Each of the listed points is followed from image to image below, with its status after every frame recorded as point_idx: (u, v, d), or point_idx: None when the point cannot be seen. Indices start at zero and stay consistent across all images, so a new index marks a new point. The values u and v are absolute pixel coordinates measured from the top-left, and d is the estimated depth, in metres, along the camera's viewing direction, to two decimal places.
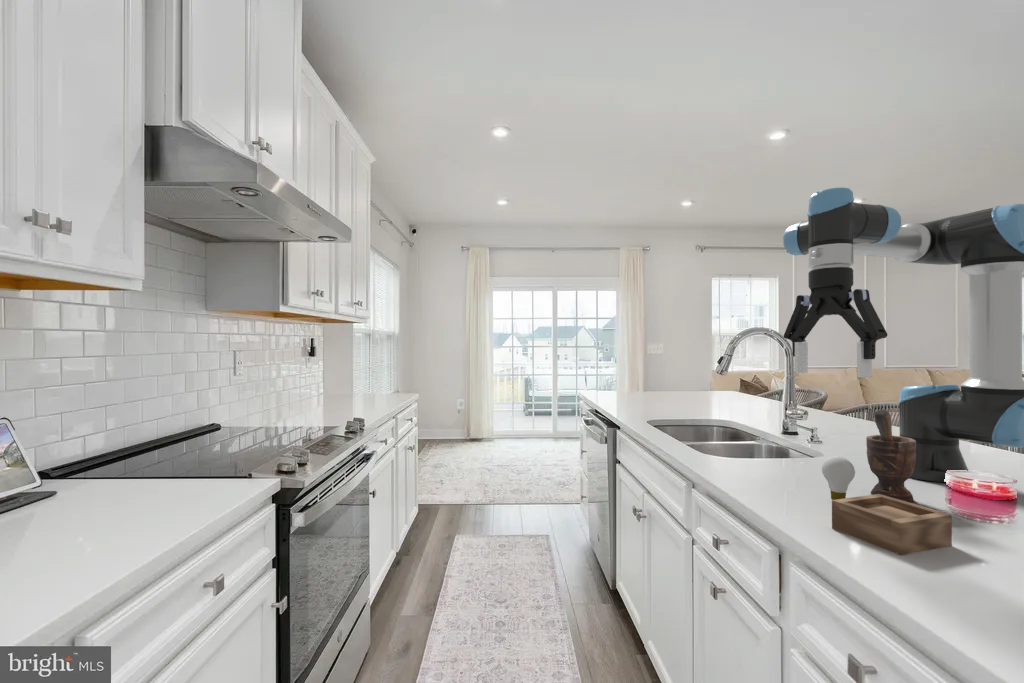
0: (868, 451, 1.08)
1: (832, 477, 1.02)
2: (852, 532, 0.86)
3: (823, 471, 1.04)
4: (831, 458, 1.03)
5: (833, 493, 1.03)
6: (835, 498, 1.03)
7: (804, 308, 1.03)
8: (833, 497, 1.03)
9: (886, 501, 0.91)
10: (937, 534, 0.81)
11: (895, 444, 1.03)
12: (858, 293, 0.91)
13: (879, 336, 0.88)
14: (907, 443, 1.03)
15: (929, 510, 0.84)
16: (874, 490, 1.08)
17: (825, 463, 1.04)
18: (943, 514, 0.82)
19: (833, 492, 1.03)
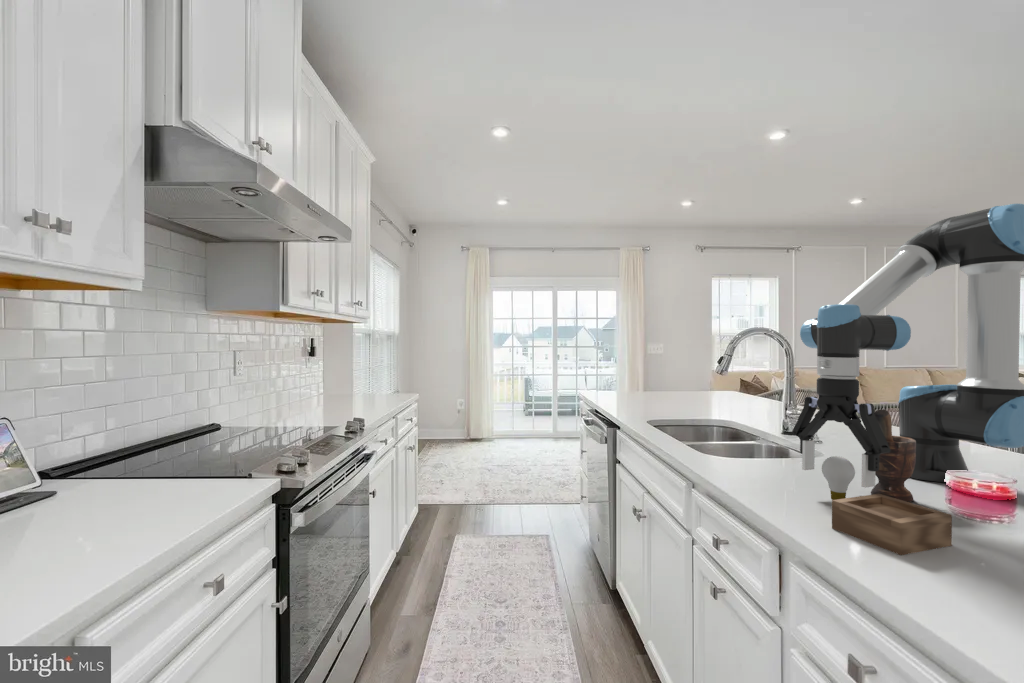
0: None
1: (832, 477, 1.02)
2: (852, 532, 0.86)
3: (823, 471, 1.04)
4: (831, 458, 1.03)
5: (833, 493, 1.03)
6: (835, 498, 1.03)
7: (812, 409, 1.10)
8: (833, 497, 1.03)
9: (886, 501, 0.91)
10: (937, 534, 0.81)
11: (895, 444, 1.03)
12: (863, 408, 0.97)
13: (883, 452, 0.94)
14: (907, 443, 1.03)
15: (929, 510, 0.84)
16: (874, 490, 1.08)
17: (825, 463, 1.04)
18: (943, 514, 0.82)
19: (833, 492, 1.03)
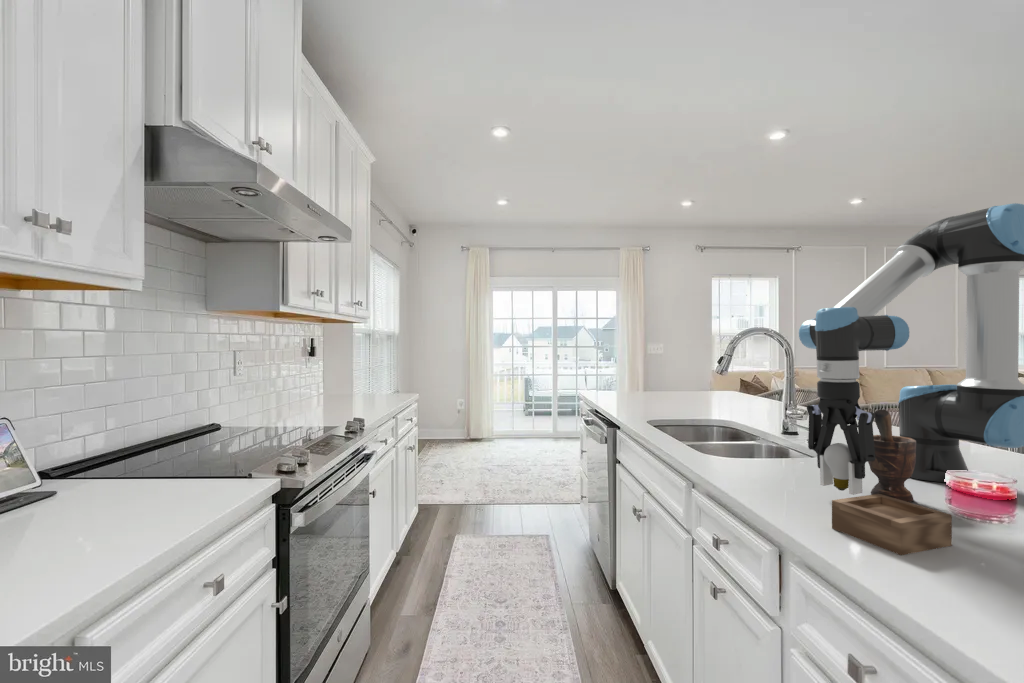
0: None
1: (835, 464, 1.02)
2: (852, 532, 0.86)
3: (826, 458, 1.04)
4: (834, 445, 1.04)
5: (836, 480, 1.04)
6: (838, 485, 1.03)
7: (818, 417, 1.09)
8: (836, 484, 1.04)
9: (886, 501, 0.91)
10: (937, 534, 0.81)
11: (895, 444, 1.03)
12: (864, 418, 0.97)
13: (868, 460, 0.98)
14: (907, 443, 1.03)
15: (929, 510, 0.84)
16: (874, 490, 1.08)
17: (827, 450, 1.04)
18: (943, 514, 0.82)
19: (836, 479, 1.04)
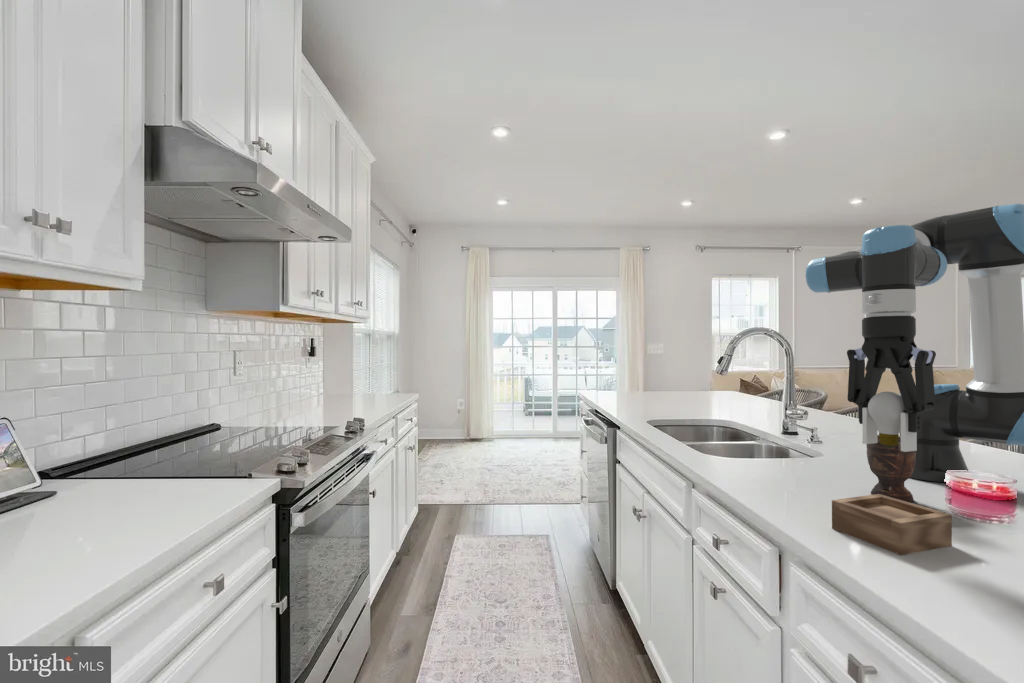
0: (868, 451, 1.08)
1: (883, 415, 0.84)
2: (852, 532, 0.86)
3: (871, 409, 0.86)
4: (881, 394, 0.86)
5: (883, 436, 0.86)
6: (885, 441, 0.85)
7: (860, 363, 0.91)
8: (883, 441, 0.86)
9: (886, 501, 0.91)
10: (937, 534, 0.81)
11: None
12: (923, 356, 0.80)
13: (927, 409, 0.80)
14: None
15: (929, 510, 0.84)
16: (874, 490, 1.08)
17: (873, 400, 0.86)
18: (943, 514, 0.82)
19: (883, 434, 0.86)
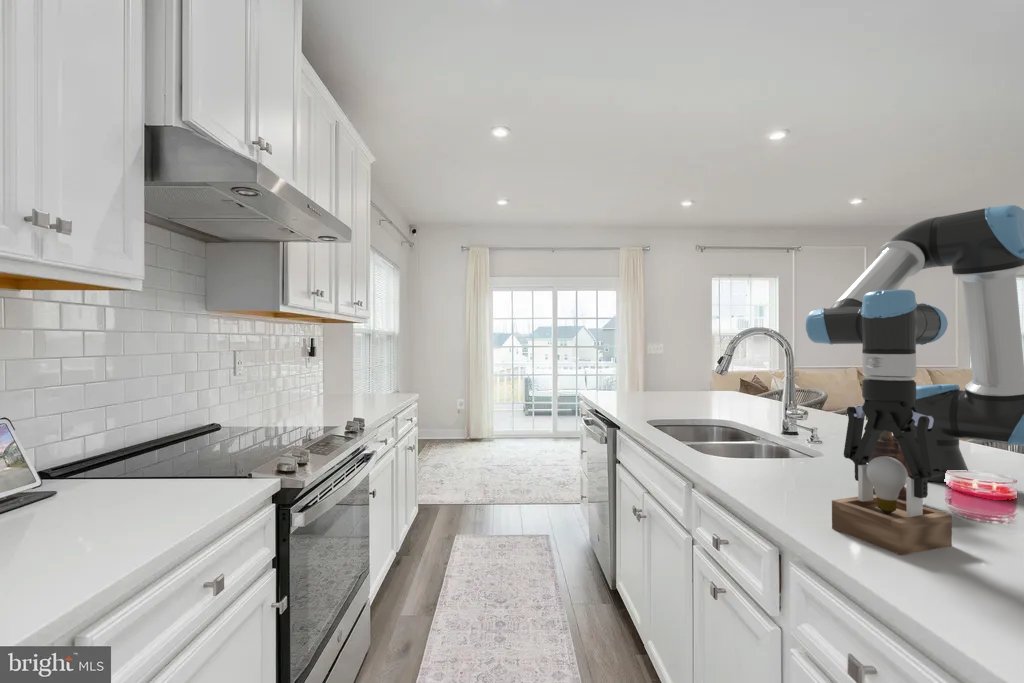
0: None
1: (881, 481, 0.85)
2: (852, 532, 0.86)
3: (869, 474, 0.87)
4: (879, 459, 0.86)
5: (881, 501, 0.86)
6: (883, 507, 0.86)
7: (860, 421, 0.91)
8: (881, 506, 0.86)
9: None
10: (937, 534, 0.81)
11: (895, 444, 1.03)
12: (924, 422, 0.80)
13: (933, 476, 0.79)
14: None
15: (929, 510, 0.84)
16: (874, 490, 1.08)
17: (871, 465, 0.87)
18: (943, 514, 0.82)
19: (881, 500, 0.86)
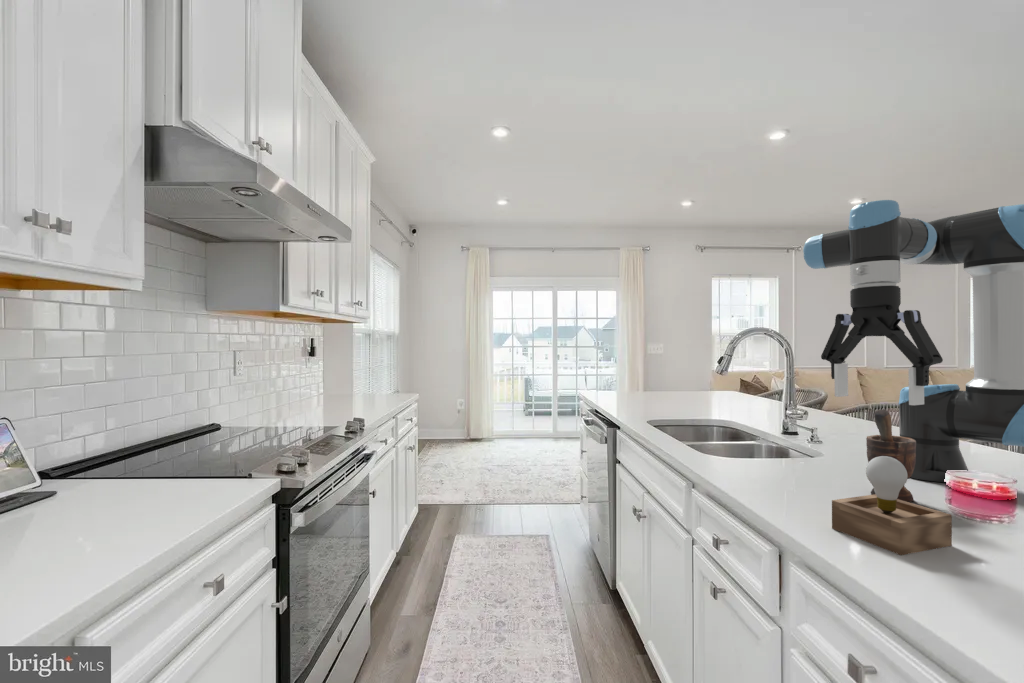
0: (868, 451, 1.08)
1: (881, 481, 0.85)
2: (852, 532, 0.86)
3: (869, 474, 0.87)
4: (878, 459, 0.86)
5: (881, 501, 0.86)
6: (883, 507, 0.86)
7: (844, 327, 0.97)
8: (881, 505, 0.86)
9: None
10: (937, 534, 0.81)
11: (895, 444, 1.03)
12: (909, 314, 0.84)
13: (934, 362, 0.81)
14: (907, 443, 1.03)
15: (929, 510, 0.84)
16: None
17: (871, 465, 0.87)
18: (943, 514, 0.82)
19: (881, 499, 0.86)
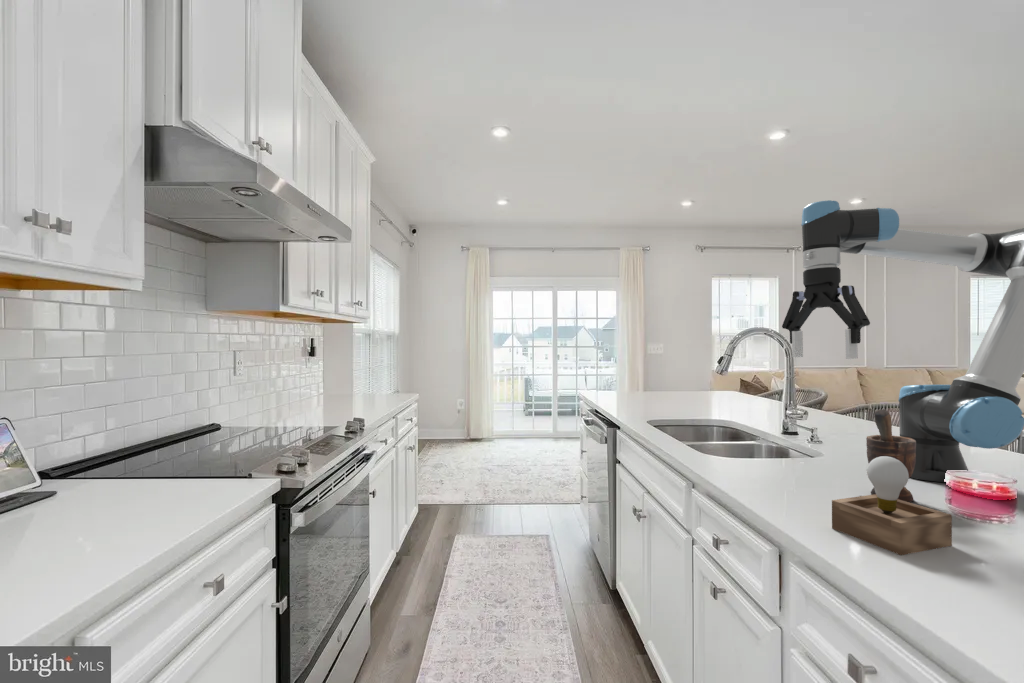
0: (868, 451, 1.08)
1: (882, 481, 0.85)
2: (852, 532, 0.86)
3: (870, 474, 0.87)
4: (880, 459, 0.86)
5: (881, 501, 0.86)
6: (884, 507, 0.86)
7: (799, 302, 1.22)
8: (881, 505, 0.86)
9: None
10: (937, 534, 0.81)
11: (895, 444, 1.03)
12: (845, 289, 1.09)
13: (863, 324, 1.06)
14: (907, 443, 1.03)
15: (929, 510, 0.84)
16: (874, 490, 1.08)
17: (872, 465, 0.87)
18: (943, 514, 0.82)
19: (881, 499, 0.86)
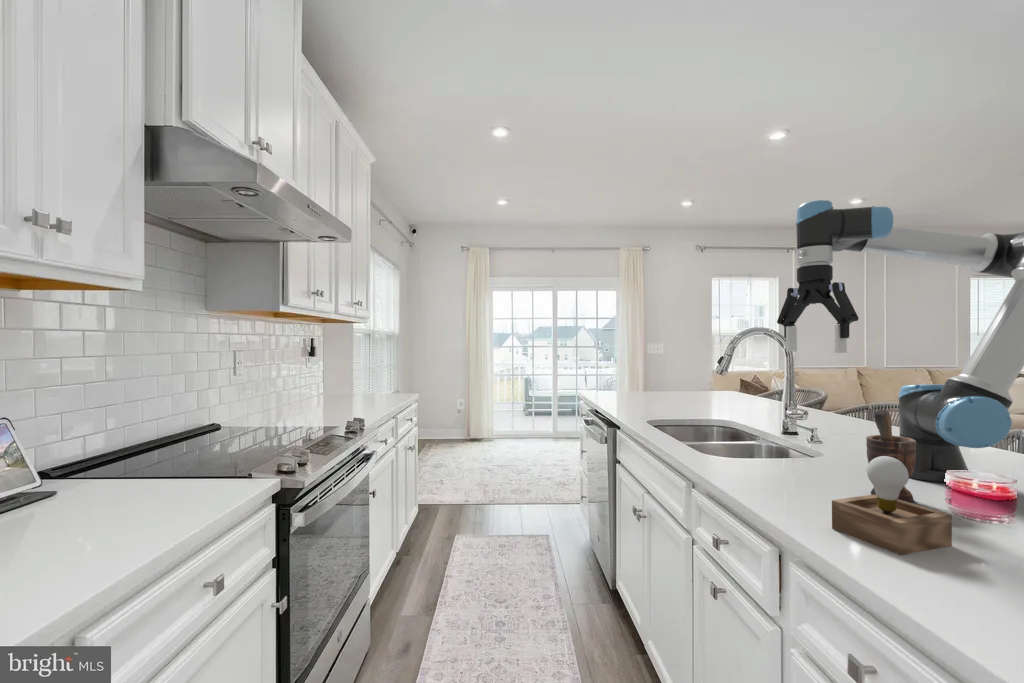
0: (868, 451, 1.08)
1: (882, 481, 0.85)
2: (852, 532, 0.86)
3: (870, 473, 0.87)
4: (880, 459, 0.86)
5: (881, 501, 0.86)
6: (884, 507, 0.86)
7: (794, 298, 1.26)
8: (881, 505, 0.86)
9: None
10: (937, 534, 0.81)
11: (895, 444, 1.03)
12: (835, 285, 1.14)
13: (852, 319, 1.10)
14: (907, 443, 1.03)
15: (929, 510, 0.84)
16: (874, 490, 1.08)
17: (872, 464, 0.87)
18: (943, 514, 0.82)
19: (881, 499, 0.86)
